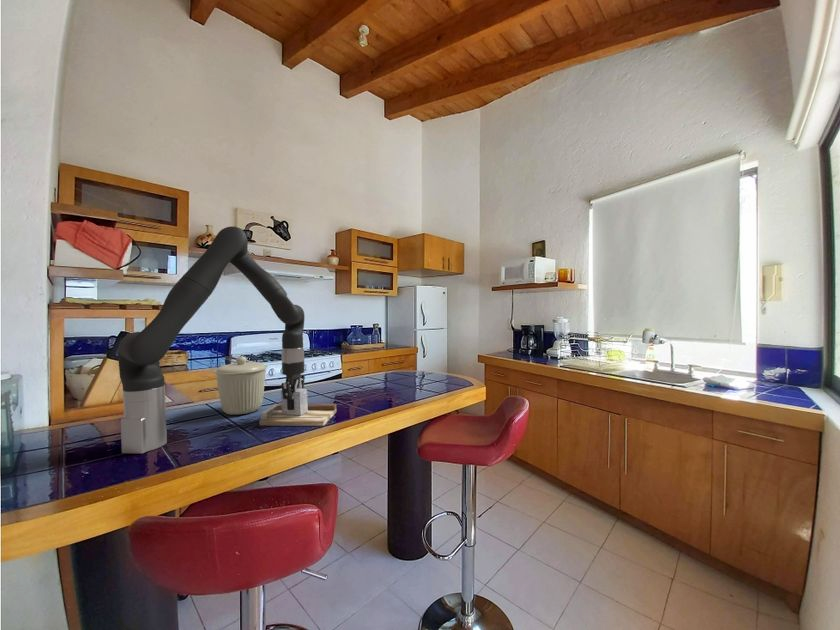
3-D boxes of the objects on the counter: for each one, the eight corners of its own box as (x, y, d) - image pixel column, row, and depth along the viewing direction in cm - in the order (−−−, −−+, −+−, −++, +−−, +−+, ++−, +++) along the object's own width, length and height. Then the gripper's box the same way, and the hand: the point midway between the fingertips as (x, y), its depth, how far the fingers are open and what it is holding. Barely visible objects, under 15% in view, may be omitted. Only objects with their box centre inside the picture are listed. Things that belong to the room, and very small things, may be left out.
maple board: (323, 425, 109) (323, 421, 109) (259, 425, 110) (259, 420, 110) (336, 412, 123) (336, 407, 123) (279, 411, 124) (279, 407, 124)
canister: (219, 422, 113) (217, 362, 112) (212, 410, 127) (210, 356, 126) (274, 411, 124) (272, 356, 124) (262, 401, 138) (260, 351, 138)
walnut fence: (334, 410, 120) (334, 405, 120) (276, 410, 121) (275, 405, 121) (336, 408, 123) (336, 403, 123) (279, 407, 124) (279, 403, 124)
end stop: (266, 420, 111) (266, 412, 111) (260, 420, 111) (260, 412, 111) (280, 410, 121) (280, 403, 121) (275, 410, 121) (275, 403, 121)
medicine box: (308, 412, 118) (307, 388, 118) (300, 416, 114) (300, 391, 114) (289, 410, 120) (288, 387, 120) (281, 414, 116) (280, 390, 116)
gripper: (292, 357, 124) (293, 401, 124) (272, 363, 110) (274, 413, 110) (311, 357, 123) (312, 401, 124) (294, 363, 109) (295, 414, 110)
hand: (294, 407), depth 117 cm, fingers closed on medicine box, 5 cm apart
